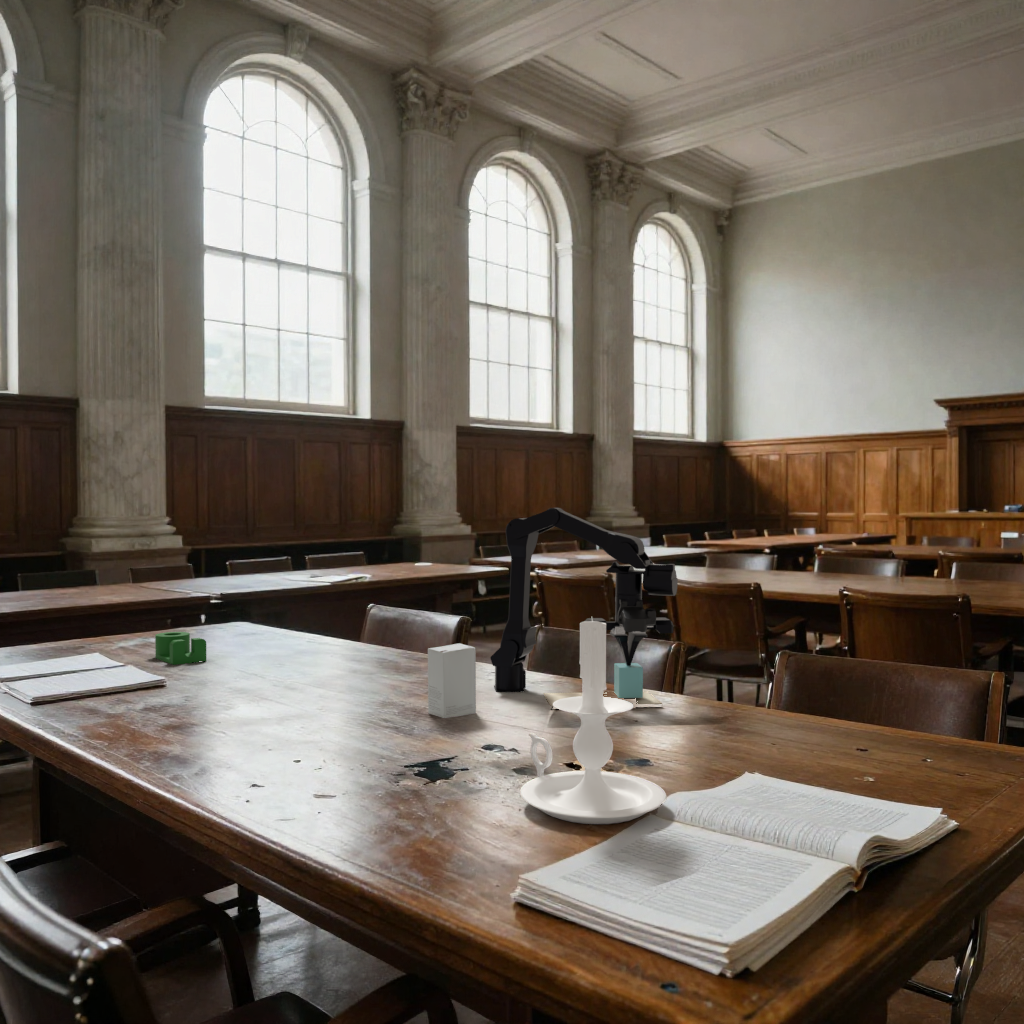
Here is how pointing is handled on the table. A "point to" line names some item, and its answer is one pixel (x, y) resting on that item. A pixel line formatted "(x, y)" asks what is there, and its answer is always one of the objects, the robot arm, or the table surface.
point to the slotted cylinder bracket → (179, 648)
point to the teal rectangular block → (628, 680)
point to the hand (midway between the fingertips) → (628, 665)
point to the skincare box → (452, 680)
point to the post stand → (645, 700)
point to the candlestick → (590, 753)
